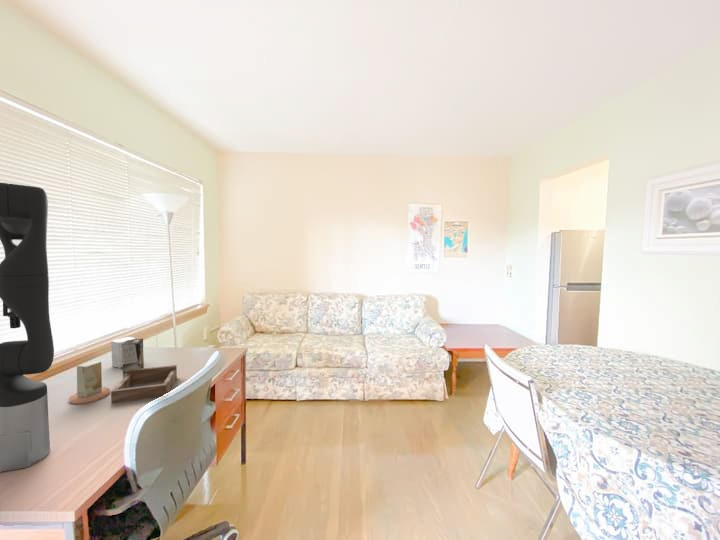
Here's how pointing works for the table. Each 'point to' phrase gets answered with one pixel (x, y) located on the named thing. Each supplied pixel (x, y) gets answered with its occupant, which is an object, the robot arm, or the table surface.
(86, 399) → the peach half ellipsoid
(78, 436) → the table surface
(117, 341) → the small box
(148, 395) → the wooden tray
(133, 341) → the coffee box
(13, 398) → the robot arm
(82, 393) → the skincare box
